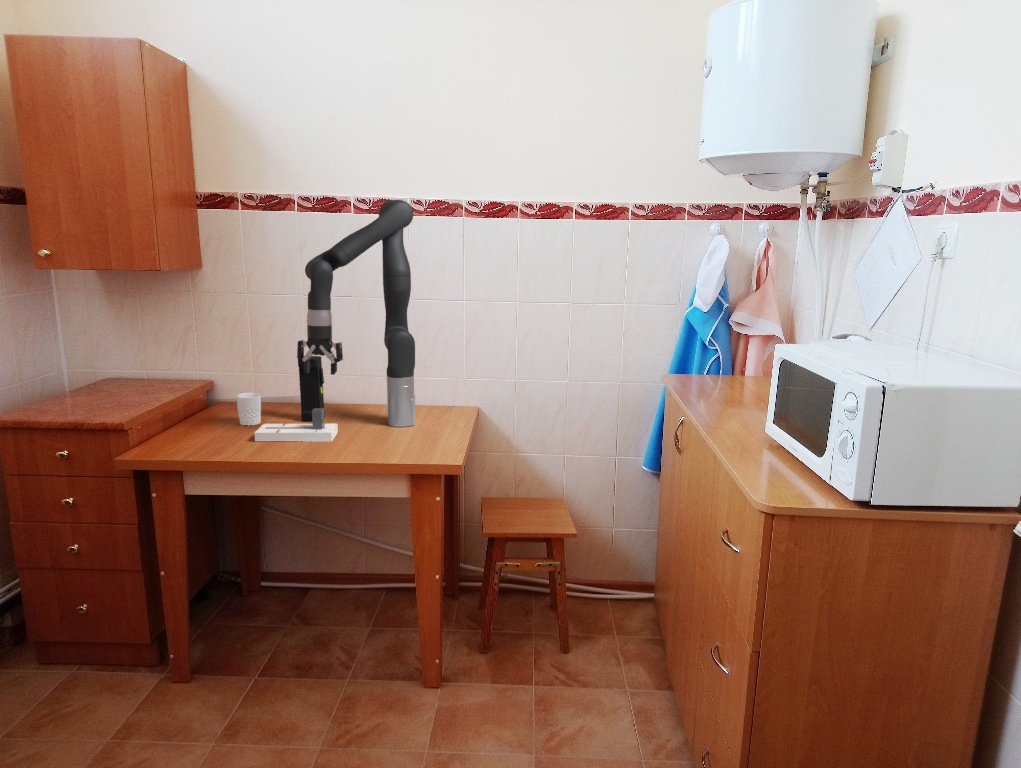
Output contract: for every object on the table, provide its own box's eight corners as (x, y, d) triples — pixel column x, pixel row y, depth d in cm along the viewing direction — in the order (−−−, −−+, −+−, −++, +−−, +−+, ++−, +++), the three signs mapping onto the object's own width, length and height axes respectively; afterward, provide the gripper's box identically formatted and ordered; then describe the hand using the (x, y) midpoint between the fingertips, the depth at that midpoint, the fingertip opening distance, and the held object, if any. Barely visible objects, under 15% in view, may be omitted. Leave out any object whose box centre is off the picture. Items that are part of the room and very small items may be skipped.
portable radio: (328, 417, 246) (325, 348, 240) (322, 422, 240) (318, 352, 234) (307, 417, 246) (303, 348, 241) (300, 421, 241) (296, 351, 235)
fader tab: (324, 425, 225) (323, 408, 224) (322, 429, 222) (321, 411, 220) (315, 425, 225) (314, 408, 223) (312, 429, 221) (311, 411, 220)
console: (337, 432, 229) (337, 423, 228) (331, 441, 219) (331, 431, 219) (264, 432, 228) (263, 423, 227) (255, 441, 218) (254, 432, 217)
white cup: (261, 425, 235) (259, 397, 233) (236, 427, 234) (234, 398, 231) (263, 419, 243) (261, 391, 241) (239, 420, 241) (237, 392, 239)
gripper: (345, 323, 221) (345, 372, 224) (302, 320, 222) (303, 369, 226) (337, 326, 214) (337, 377, 217) (293, 323, 215) (294, 374, 218)
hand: (320, 373), depth 221 cm, fingers open, 8 cm apart
